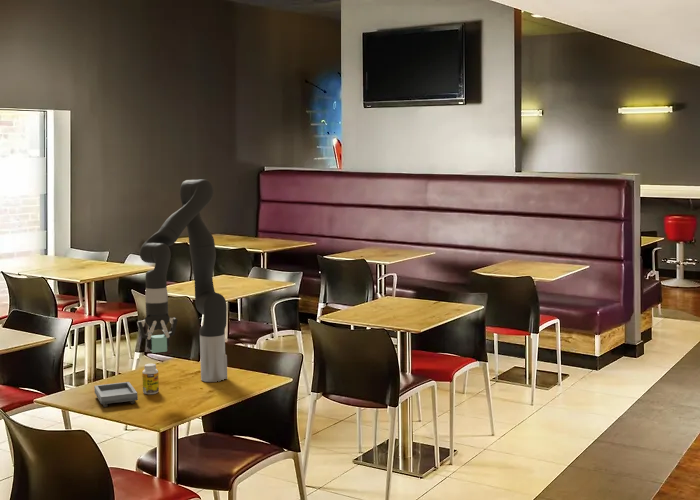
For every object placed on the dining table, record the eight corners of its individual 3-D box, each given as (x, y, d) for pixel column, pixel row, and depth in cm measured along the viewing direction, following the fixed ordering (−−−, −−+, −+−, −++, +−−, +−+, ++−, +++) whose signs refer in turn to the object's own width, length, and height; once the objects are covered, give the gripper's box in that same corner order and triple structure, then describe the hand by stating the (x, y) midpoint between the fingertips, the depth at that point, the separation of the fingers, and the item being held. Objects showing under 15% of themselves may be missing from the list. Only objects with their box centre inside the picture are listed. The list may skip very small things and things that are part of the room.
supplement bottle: (146, 395, 311) (145, 367, 310) (140, 392, 315) (139, 364, 314) (161, 393, 314) (160, 365, 313) (155, 389, 318) (154, 362, 317)
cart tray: (129, 392, 315) (128, 381, 314) (137, 404, 300) (137, 392, 300) (94, 396, 310) (94, 385, 310) (101, 408, 296) (101, 397, 295)
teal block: (164, 348, 309) (163, 334, 309) (167, 351, 305) (166, 337, 304) (149, 349, 307) (149, 335, 307) (152, 352, 303) (152, 338, 302)
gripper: (174, 297, 310) (176, 344, 312) (133, 300, 304) (135, 348, 306) (179, 300, 303) (181, 349, 305) (137, 303, 298) (139, 353, 299)
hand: (158, 348), depth 306 cm, fingers closed on teal block, 5 cm apart
